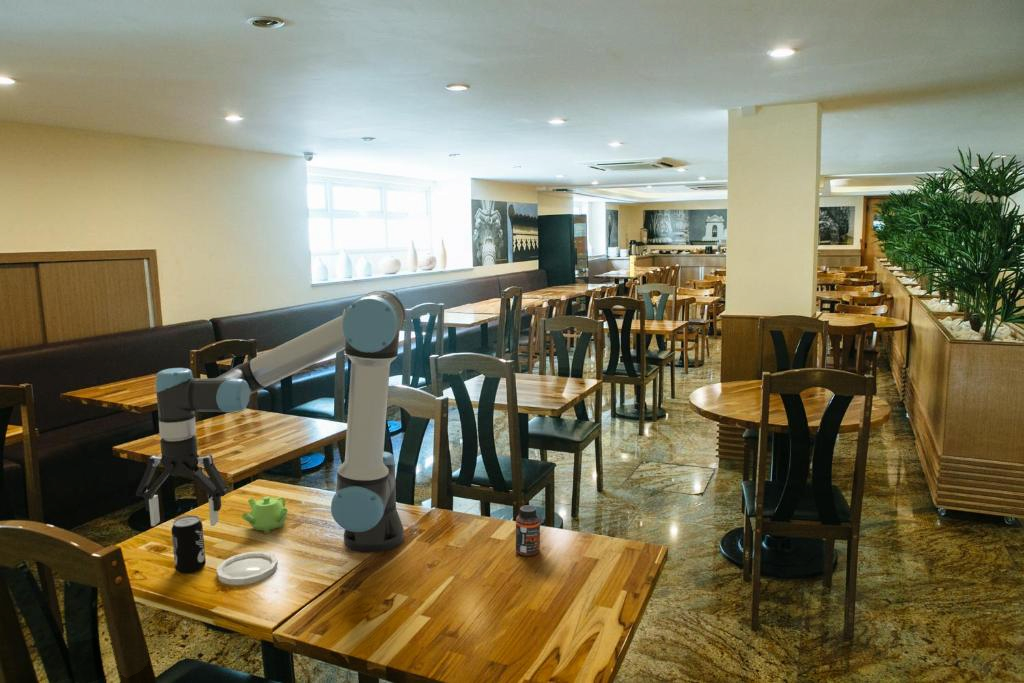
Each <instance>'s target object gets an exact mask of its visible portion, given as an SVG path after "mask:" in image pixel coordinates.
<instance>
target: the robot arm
mask: <svg viewBox="0 0 1024 683" xmlns="http://www.w3.org/2000/svg"><path fill="white" fill-rule="evenodd" d="M405 321H406V310H405V307H404V304H403V302H402V301H401V300H400V298H398V297H397V296H396V295H395V294H393V293H391V292H390V291H389V292H388V291H387V290H373V291H372V292H371V291H370V292H369V293H366V294H365V295H363V296H360V297H358V298H356V299H355V300H354V301H352V302H351V304H349V305H348V307H347V308H345V309H344V310H343V313H342V314H341V315H340V316H337V317H336V318H334V319H332V320H330V321H328V322H325V323H323V324H321V325H320V326H317V327H316V328H313V329H311V330H309V331H307V332H305V333H303V334H301V335H298V336H297V337H295V338H293V339H291V340H288V341H285V342H284V343H283V344H280V345H277V346H276V347H275V348H272V349H270V350H268V351H266V352H265V353H261V354H260V355H258V356H256V357H254V358H251V359H250V360H247V361H245V362H243V363H240V364H238V365H235V366H233V367H232V368H231V369H230V370H227V371H226V372H224V373H222V374H221V375H219V376H217V377H214V378H213V377H212V378H211V377H210V378H199V377H198V378H197V377H194V375H193V371H192V370H191V369H189V368H185V367H172V368H166V369H165V368H164V369H162V370H160V371H158V372H157V373H156V375H155V394H156V404H157V411H158V412H157V414H158V428H159V429H158V430H159V438H161V439H160V442H159V445H160V453H161V456H158V455H157V454H152V456H150V457H149V458H147V463H146V468H145V471H144V473H143V476H142V478H141V481H140V482H139V485H138V487H137V489H136V491H135V496H137V497H141V498H142V497H143V498H144V501H145V510H146V512H149V517H150V526H151V527H156V525H158V524H159V523H160V522H161V519H160V517H161V516H160V507H159V506H160V504H159V495H158V494H155V493H156V492H157V491H158V489H159V488H160V487H161V486H162V484H164V482H165V481H166V480H167V479H168V477H170V476H172V477H179V476H180V477H187V476H189V478H191V479H192V480H193V479H194V481H195V482H196V483H197V484H198V485H199V486H200V487H201V488H202V489H203V490H204V491H205V492H206V493H207V494H208V495H209V496H210V498H209V499H208V508H209V520H210V527H214V526H215V525H217V523H218V522H219V511H220V510H221V508H222V497H224V496H225V495H227V493H228V492H229V490H230V489H229V487H228V485H227V484H226V482H225V480H224V478H223V477H222V476H221V474H220V472H219V470H218V468H217V467H216V465H215V463H214V458H213V455H212V454H207V455H206V456H199V454H198V436H197V435H196V433H197V427H196V426H197V425H196V424H197V423H196V413H195V412H199V413H200V412H201V413H202V412H204V413H205V412H206V413H207V412H210V413H211V412H213V413H214V412H217V413H233V412H242V411H245V410H246V409H247V407H248V404H249V402H250V398H251V395H252V394H255V393H256V392H259V391H260V390H262V389H265V388H266V387H268V386H270V385H272V384H274V383H277V382H279V381H281V380H283V379H285V378H287V377H289V376H291V375H293V374H295V373H297V372H299V371H302V370H304V369H305V368H308V367H310V366H313V365H314V364H316V363H319V362H320V361H322V360H325V359H327V358H328V357H331V356H333V355H335V354H337V353H339V352H341V351H344V355H346V357H347V358H348V359H349V360H350V361H351V363H350V377H349V378H350V379H349V392H348V407H347V421H346V422H347V423H346V438H345V451H344V452H345V454H344V455H345V456H344V461H343V463H341V464H340V465H339V466H338V467H337V469H336V470H337V471H336V485H335V486H336V488H335V493H334V495H333V497H332V498H331V499H332V500H331V503H330V504H331V505H330V513H331V516H332V518H333V520H334V522H336V523H337V524H338V525H339V526H340V528H341V529H344V532H343V544H344V546H345V547H346V548H347V549H348V550H350V551H352V552H357V553H361V554H373V553H374V554H375V553H376V554H377V553H380V552H381V553H382V552H386V551H389V550H392V549H394V548H396V547H398V546H399V545H401V544H402V542H403V541H404V539H405V529H404V524H403V523H402V520H401V517H400V515H399V512H398V509H397V497H396V496H397V495H396V494H397V491H396V473H395V469H396V468H395V466H396V463H395V457H394V455H393V454H392V453H391V452H388V451H385V450H384V449H385V437H386V436H385V435H386V426H387V425H386V423H387V421H386V420H387V410H388V409H387V408H388V396H389V395H388V394H389V384H390V383H389V382H390V369H391V363H392V362H393V361H394V360H396V358H398V352H399V344H400V342H399V341H400V332H401V330H402V329H403V326H404V324H405ZM198 464H200V465H201V467H203V469H204V471H205V472H206V474H207V475H206V474H205V473H204V472H203V470H202V468H201V467H200V466H199V465H198ZM159 465H162V467H163V468H164V470H163V471H162V472H161V474H160V475H159V476H158V478H157V479H156V480H155V481H154V483H153V484H152V485H151V486H150V487H149V485H150V484H151V481H152V478H153V476H154V473H155V471H156V469H157V467H158V466H159ZM208 477H209V478H208ZM148 487H149V488H148Z"/></svg>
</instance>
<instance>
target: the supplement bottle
mask: <svg viewBox="0 0 1024 683" xmlns="http://www.w3.org/2000/svg"><path fill="white" fill-rule="evenodd" d="M540 546H541V519H540V516H539V515H538V514H537V507H536V506H535V505H530V504H529V505H528V504H527V505H522V506H520V508H519V514H518V515H517V516H516V519H515V552H517V554H519V555H521V556H524V557H531V556H532V557H533V556H535V555H537V554H538V553H539V552H540V551H541V550H540V548H541V547H540Z"/></svg>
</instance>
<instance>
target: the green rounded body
mask: <svg viewBox="0 0 1024 683" xmlns="http://www.w3.org/2000/svg"><path fill="white" fill-rule="evenodd" d="M280 500H281V501H280ZM247 502H248V504H249V506H250V508H251V510H250V512H249V513H248V512H244V513H242V516H241V517H242V518H241V519H243V520H245V521H246V522H248V524H249V526H251V527H252V528H253V530H254V531H263V534H270V533H272V531H271V530H274V529H276V528H284V523H285V522H286V521H287V519H288V518H287V517H288V515H287V513H288V512H289V510H288V508H287V507H286V499H285V497H283V496H278V497H275V498H274V497H271V496H264V497H263V498H262V499H259V500H257V501H256V500H255V499H254V497H253V498H250V499H249V500H247Z"/></svg>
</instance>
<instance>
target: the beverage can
mask: <svg viewBox="0 0 1024 683" xmlns="http://www.w3.org/2000/svg"><path fill="white" fill-rule="evenodd" d="M203 526H204V525H203V522H202V521H201V517H199V515H184V516H181V517H177V518H176V519H175V520H174V521H173V522H172V527H171V529H170V530H171V540H172V549H173V550H172V551H173V559H174V568H175V570H176V572H178V573H179V574H183V575H188V574H189V575H190V574H194V573H197V572H199V571H201V570H202V569H203V568H204V566H205V565H206V563H207V561H206V552H205V551H206V550H205V549H206V548H205V540H204V538H205V537H204V528H203Z"/></svg>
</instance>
